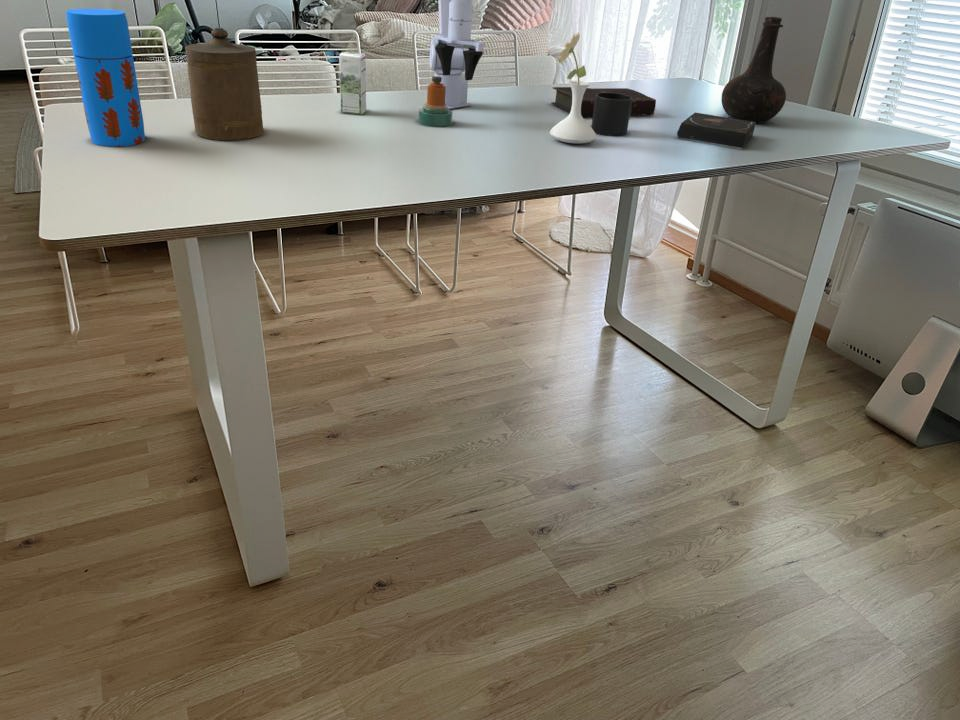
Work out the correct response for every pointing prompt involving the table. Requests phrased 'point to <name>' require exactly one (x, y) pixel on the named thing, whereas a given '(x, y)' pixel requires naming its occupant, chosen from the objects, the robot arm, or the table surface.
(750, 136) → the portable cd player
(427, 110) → the green round container
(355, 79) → the syrup box
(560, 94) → the diary
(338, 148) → the table surface
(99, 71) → the thermos
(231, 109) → the wooden container
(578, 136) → the flower in vase
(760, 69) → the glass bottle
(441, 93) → the amber bottle
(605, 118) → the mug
